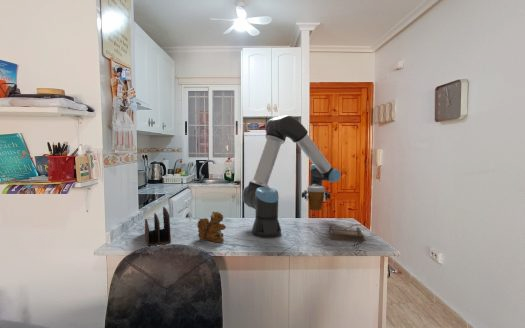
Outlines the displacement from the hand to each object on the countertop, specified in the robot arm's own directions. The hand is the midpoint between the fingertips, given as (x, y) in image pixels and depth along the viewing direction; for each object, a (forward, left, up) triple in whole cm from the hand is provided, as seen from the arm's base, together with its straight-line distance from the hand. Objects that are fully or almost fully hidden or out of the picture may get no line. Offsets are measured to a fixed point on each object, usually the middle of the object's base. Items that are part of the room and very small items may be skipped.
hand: (315, 198), depth 137 cm
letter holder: (-77, +16, -19) cm, 81 cm away
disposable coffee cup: (+2, +4, -7) cm, 8 cm away
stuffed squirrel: (-52, +8, -19) cm, 56 cm away
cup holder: (+14, -6, -19) cm, 24 cm away
